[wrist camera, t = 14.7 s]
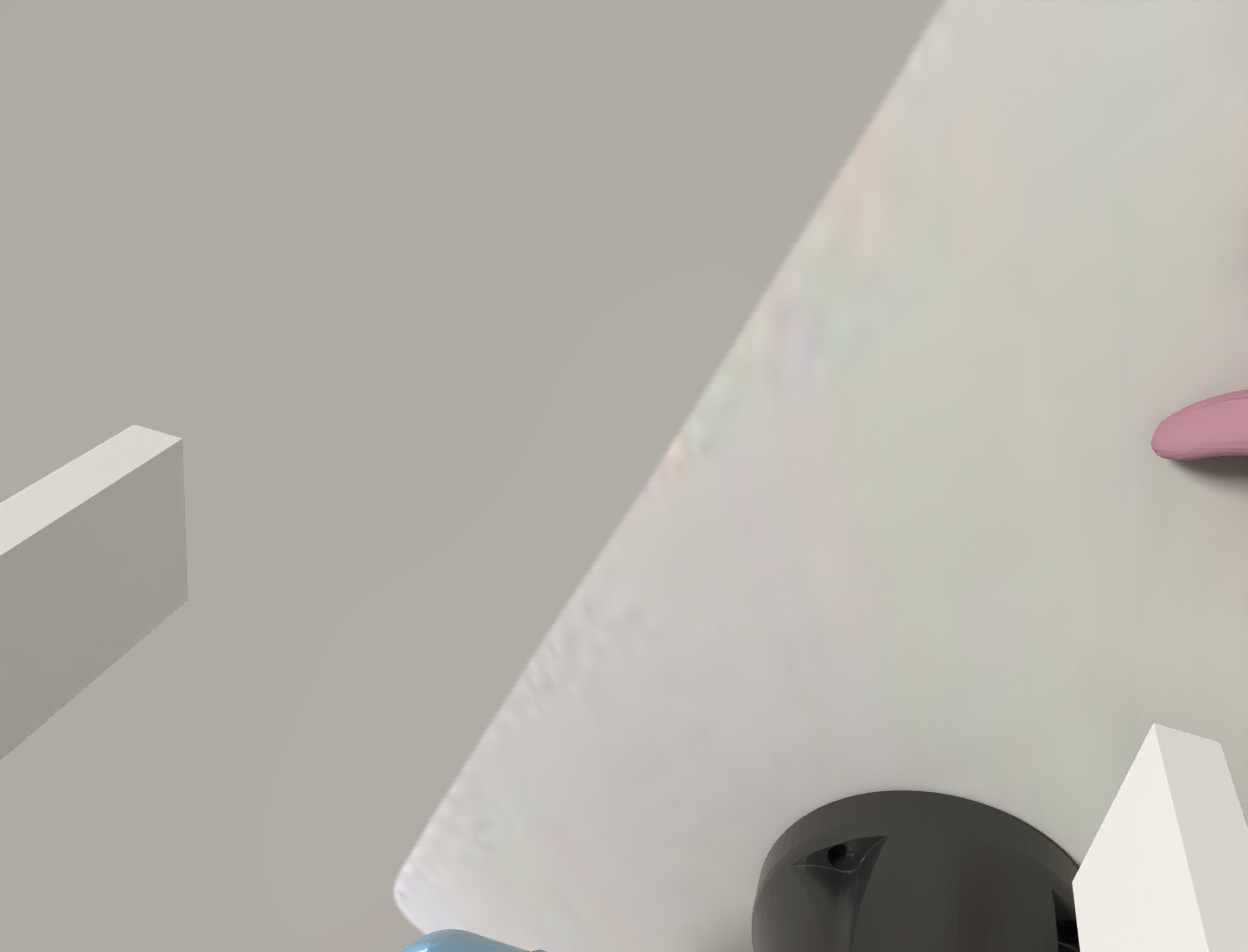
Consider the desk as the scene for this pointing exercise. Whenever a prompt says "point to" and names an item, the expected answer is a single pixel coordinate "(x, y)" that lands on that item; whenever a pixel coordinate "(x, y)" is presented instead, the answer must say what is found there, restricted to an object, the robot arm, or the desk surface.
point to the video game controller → (1205, 429)
